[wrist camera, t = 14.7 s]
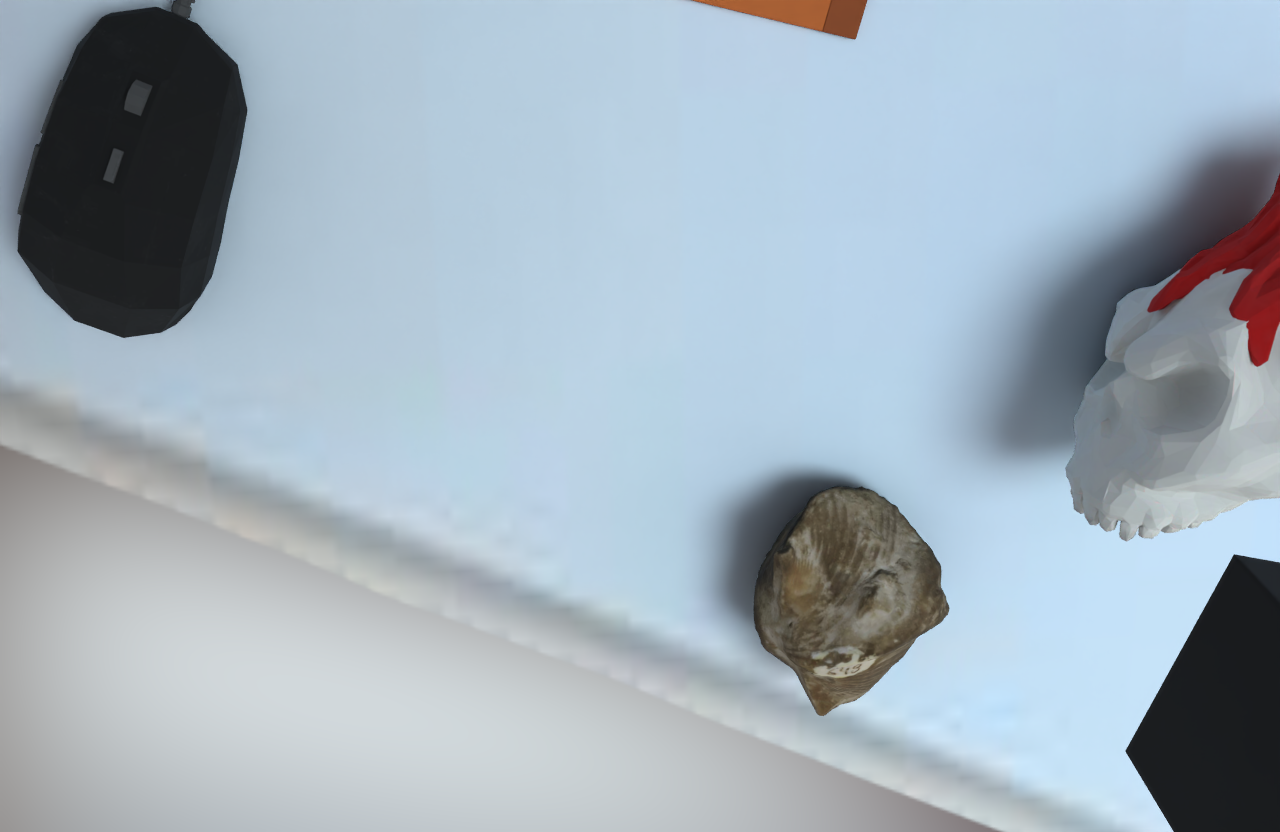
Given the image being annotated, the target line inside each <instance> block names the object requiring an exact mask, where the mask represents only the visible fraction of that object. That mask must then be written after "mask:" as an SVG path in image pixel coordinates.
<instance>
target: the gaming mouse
mask: <svg viewBox="0 0 1280 832" xmlns="http://www.w3.org/2000/svg"><path fill="white" fill-rule="evenodd" d="M194 2H195V0H176V1H174V2H173V6H172V9H171V11H172V12H173V13H170V12H168V11H165V10H163V9H161V8H158V7H152V8H145V9H137V10H130V11H123V12H115V13H110V14H108V15H106V16H104V17H102V18H101V19H100V20H99V21H98V22H97V24H96V25H95V26H94V27H93V28H92V29H91V30H90V32H89V33H88V34H87V35H86V36H85V37H84V38H83V39H82V41H81V42H80V43H79V44H78V45H77V47H76V49H75V52H74V54H73V56H72V59H71V61H70V63H69V66H68V68H67V70H66V73H65V75H64V77H63V80H60V83H59V85H58V88H57V90H56V93H55V95H54V98H53V101H52V103H51V106H50V109H49V111H48V114H47V117H46V119H45V122H44V125H43V127H42V130H41V133H42V134H43V135H42V138H41V141H40V143H39V144H36V145H35V148H34V152H33V155H32V159H31V163H30V166H29V170H28V174H27V177H26V181H25V185H24V188H23V192H22V196H21V200H20V204H19V208H18V214H19V215H21V219H20V225H19V233H18V253H19V254H20V256H21V257H22V259H23V260H24V262H25V263H26V265H27V266H28V268H29V269H30V271H31V272H32V274H33V275H34V277H35V278H36V280H37V281H38V283H39V284H40V286H41V287H42V289H43V290H44V292H45V293H47V294H48V295H49V296H50V297H51V298H52V299H53V300H54V301H55V302H56V303H57V304H58V305H59V306H60V307H61V308H62V309H63V310H64V311H65V312H66V313H67V314H68V315H69V316H70V317H71V318H73V319H74V320H75V321H77V322H80V323H83V324H86V325H89V326H92V327H94V328H97V329H100V330H103V331H106V332H109V333H111V334H114V335H117V336H120V337H123V338H125V337H132V336H140V335H147V334H154V333H161V332H163V331H165V330H167V329H169V328H170V327H172V326H174V325H176V324H177V323H178V322H179V321H180V320H181V319H182V318H183V317H184V316H185V315H186V314H187V313H188V312H189V311H190V310H191V309H192V307H193V305H194V304H195V302H196V301H197V300H198V298H199V297H200V296H201V294H202V293H203V291H204V289H205V287H206V286H207V284H208V282H209V280H210V279H211V277H212V274H213V270H214V266H215V263H216V259H217V255H218V251H219V247H220V244H221V239H222V233H223V228H224V223H225V217H226V212H227V207H228V202H229V198H230V194H231V190H232V185H233V181H234V177H235V173H236V169H237V164H238V160H239V155H240V150H241V144H242V138H243V132H244V127H245V121H246V115H247V106H246V102H245V97H244V93H243V88H242V83H241V79H240V74H239V70H238V65H237V64H236V63H235V62H234V61H233V60H232V59H231V58H230V57H229V56H228V55H227V54H226V53H225V52H224V51H223V50H222V49H221V48H220V47H219V46H218V45H217V44H216V43H215V42H214V41H213V40H212V39H211V38H210V37H209V36H208V35H207V34H206V33H205V32H204V31H203V30H202V28H201V27H200V26H199V25H198V24H197V23H194V22H192V21H190V20H187V19H186V18H189V17H190V13H191V10H192V8H191V7H190V5H191V3H194Z"/></svg>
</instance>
